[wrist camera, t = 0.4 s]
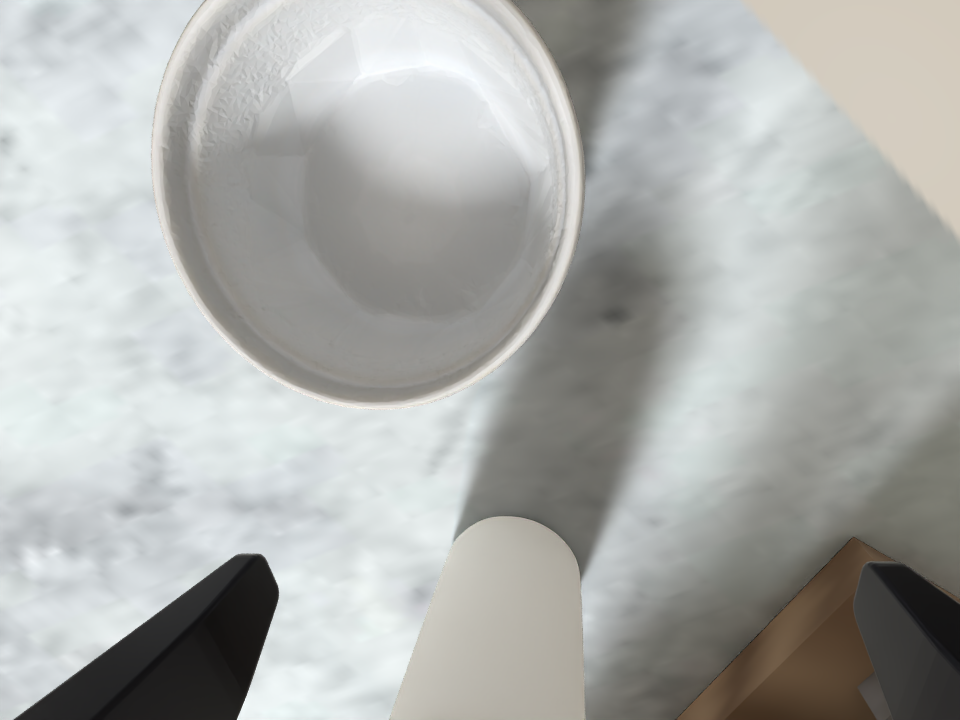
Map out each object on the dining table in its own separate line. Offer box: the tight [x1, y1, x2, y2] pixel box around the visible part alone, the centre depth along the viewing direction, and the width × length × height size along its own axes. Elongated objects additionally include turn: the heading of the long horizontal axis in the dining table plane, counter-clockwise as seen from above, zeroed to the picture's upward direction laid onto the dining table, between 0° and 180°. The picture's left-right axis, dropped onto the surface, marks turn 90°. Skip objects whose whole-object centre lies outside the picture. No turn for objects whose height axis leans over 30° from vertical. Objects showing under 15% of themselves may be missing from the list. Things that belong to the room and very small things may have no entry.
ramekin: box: [151, 0, 585, 410], centre depth 18 cm, size 13×13×7 cm
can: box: [389, 516, 585, 720], centre depth 20 cm, size 6×6×12 cm
